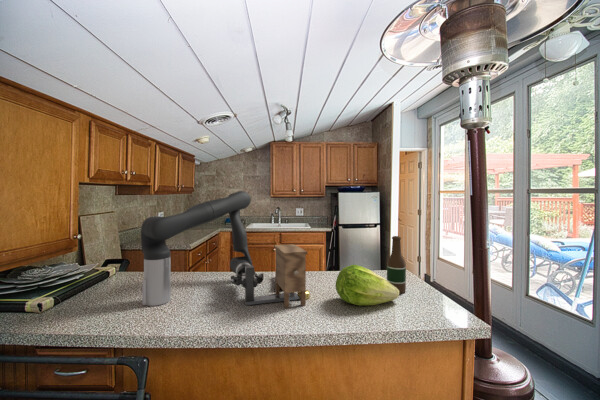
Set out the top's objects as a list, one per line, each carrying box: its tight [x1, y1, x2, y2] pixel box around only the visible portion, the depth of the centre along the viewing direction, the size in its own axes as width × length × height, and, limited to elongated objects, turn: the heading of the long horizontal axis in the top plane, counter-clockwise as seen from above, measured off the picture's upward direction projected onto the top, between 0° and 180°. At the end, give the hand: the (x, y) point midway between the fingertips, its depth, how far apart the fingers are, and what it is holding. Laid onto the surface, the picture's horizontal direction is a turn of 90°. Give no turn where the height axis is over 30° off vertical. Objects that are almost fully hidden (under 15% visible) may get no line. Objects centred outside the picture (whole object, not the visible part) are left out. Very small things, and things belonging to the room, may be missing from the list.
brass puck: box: [297, 289, 311, 301], centre depth 112 cm, size 5×5×2 cm
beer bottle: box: [386, 235, 407, 295], centre depth 119 cm, size 8×8×24 cm
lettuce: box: [334, 264, 400, 307], centre depth 106 cm, size 15×24×16 cm
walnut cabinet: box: [273, 243, 308, 309], centre depth 109 cm, size 9×18×20 cm, turn 18°
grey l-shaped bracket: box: [244, 264, 300, 306], centre depth 108 cm, size 21×4×14 cm, turn 108°
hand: (250, 285), depth 102 cm, fingers closed on grey l-shaped bracket, 3 cm apart
